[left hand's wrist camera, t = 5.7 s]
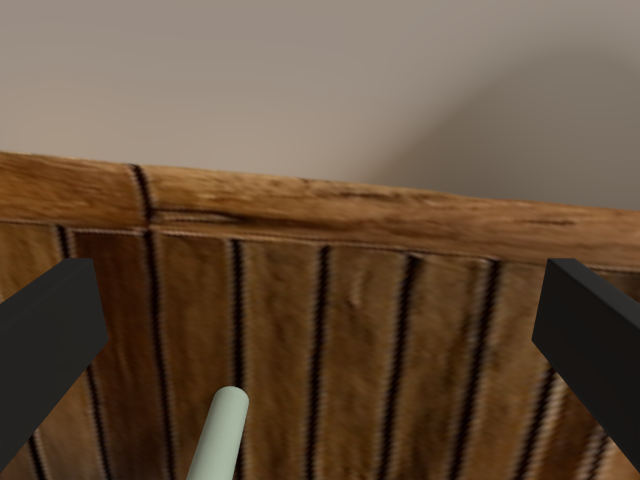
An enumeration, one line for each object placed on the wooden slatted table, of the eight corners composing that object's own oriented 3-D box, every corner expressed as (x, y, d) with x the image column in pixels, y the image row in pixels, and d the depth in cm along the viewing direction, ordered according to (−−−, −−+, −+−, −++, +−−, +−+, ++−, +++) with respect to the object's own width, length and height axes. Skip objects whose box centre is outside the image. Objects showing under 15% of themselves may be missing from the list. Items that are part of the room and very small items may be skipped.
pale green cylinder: (216, 415, 49) (165, 579, 33) (211, 387, 48) (155, 544, 32) (251, 413, 49) (217, 577, 33) (246, 385, 48) (208, 541, 32)
